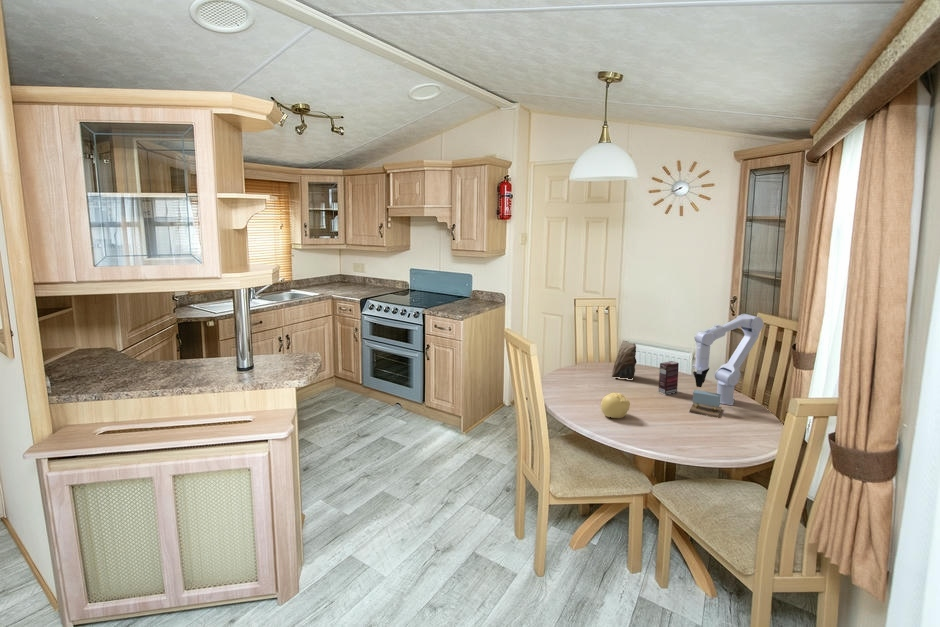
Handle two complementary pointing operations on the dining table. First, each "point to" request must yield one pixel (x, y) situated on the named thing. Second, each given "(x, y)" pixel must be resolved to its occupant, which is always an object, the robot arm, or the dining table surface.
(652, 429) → the dining table surface
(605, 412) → the yellow round lump
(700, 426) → the dining table surface
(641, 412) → the dining table surface
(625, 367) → the brown rock
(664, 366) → the supplement box
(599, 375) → the dining table surface
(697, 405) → the peg stand
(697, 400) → the light blue rectangular block
